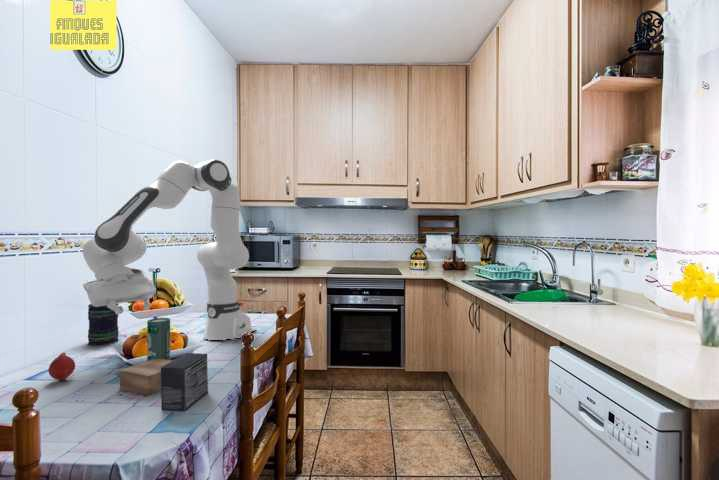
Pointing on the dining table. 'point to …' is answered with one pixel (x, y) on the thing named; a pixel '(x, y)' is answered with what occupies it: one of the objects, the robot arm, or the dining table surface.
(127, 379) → the brown cardboard box
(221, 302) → the robot arm
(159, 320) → the can
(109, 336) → the storage jar
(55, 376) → the onion
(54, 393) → the dining table surface
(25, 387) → the dining table surface
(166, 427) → the dining table surface
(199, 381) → the small box
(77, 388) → the dining table surface
